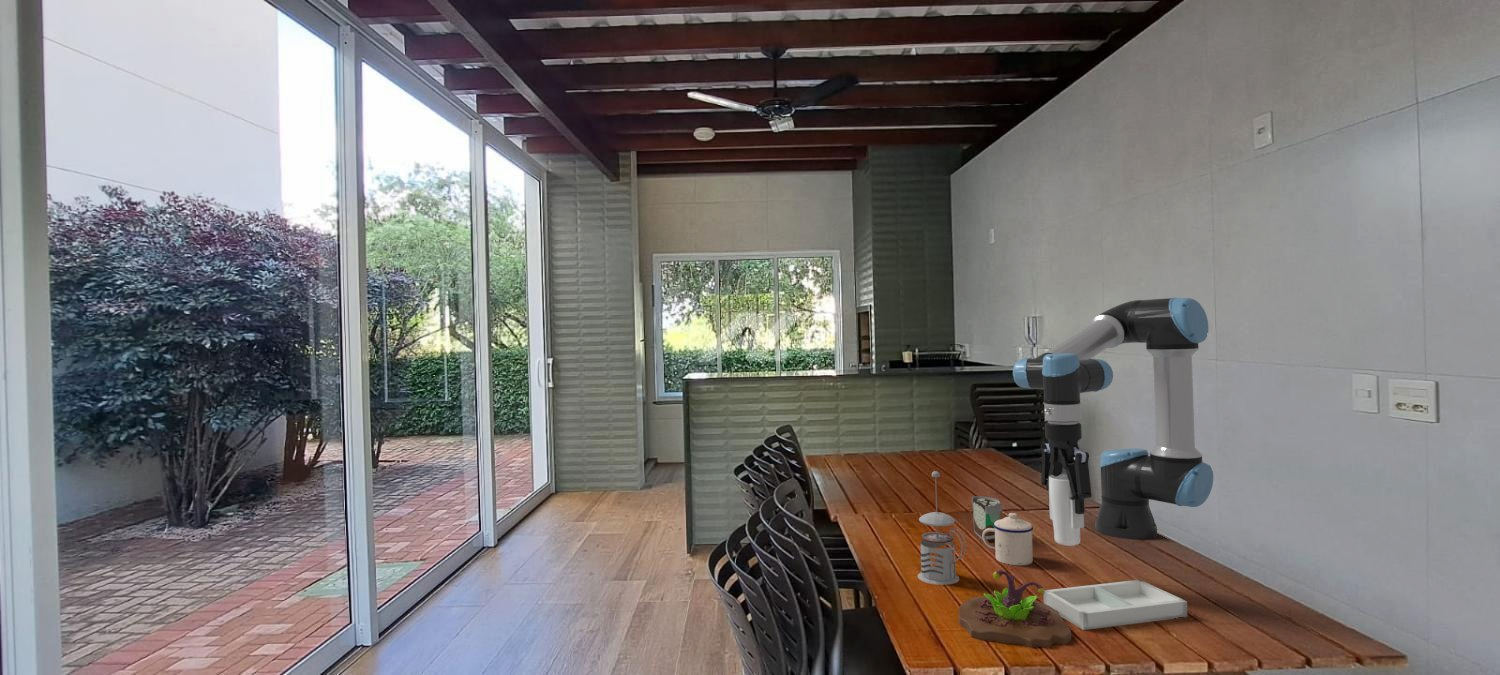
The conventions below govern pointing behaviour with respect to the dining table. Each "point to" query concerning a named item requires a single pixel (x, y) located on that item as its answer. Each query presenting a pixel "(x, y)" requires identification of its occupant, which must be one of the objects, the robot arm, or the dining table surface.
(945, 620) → the dining table surface
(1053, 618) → the plant
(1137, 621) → the divided tray
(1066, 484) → the drinking glass
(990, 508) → the food container
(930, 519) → the french press
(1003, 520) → the teacup with lid
